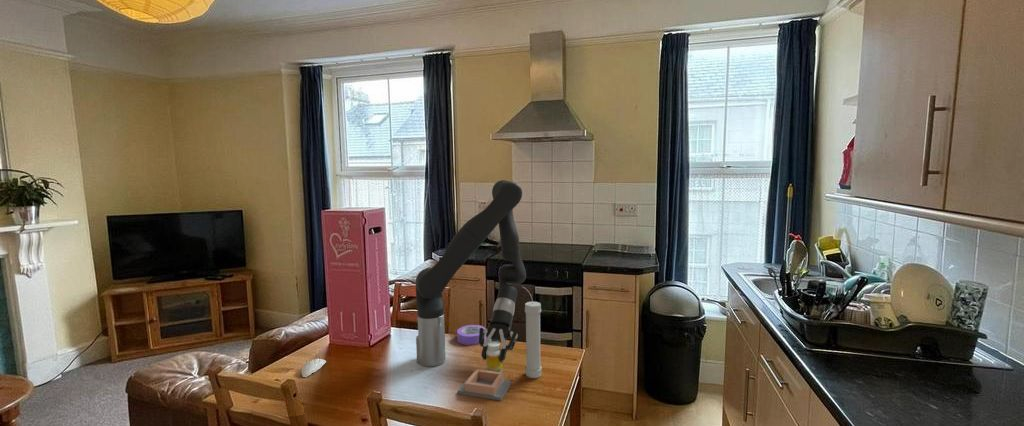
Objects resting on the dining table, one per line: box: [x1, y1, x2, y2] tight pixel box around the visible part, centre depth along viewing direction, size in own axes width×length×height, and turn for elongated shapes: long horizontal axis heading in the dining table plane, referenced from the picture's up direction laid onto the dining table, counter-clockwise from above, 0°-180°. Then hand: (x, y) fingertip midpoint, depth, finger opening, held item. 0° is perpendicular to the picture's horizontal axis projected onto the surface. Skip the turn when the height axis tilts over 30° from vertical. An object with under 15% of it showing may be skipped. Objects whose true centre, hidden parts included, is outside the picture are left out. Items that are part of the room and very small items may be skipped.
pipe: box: [521, 286, 543, 379], centre depth 134 cm, size 6×6×30 cm
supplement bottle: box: [485, 341, 503, 373], centre depth 138 cm, size 5×5×10 cm
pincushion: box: [300, 353, 327, 378], centre depth 141 cm, size 12×6×6 cm, turn 176°
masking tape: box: [456, 324, 487, 346], centre depth 165 cm, size 12×12×4 cm
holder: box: [457, 368, 512, 402], centre depth 127 cm, size 14×10×4 cm
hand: (492, 359), depth 136 cm, fingers closed on supplement bottle, 5 cm apart
